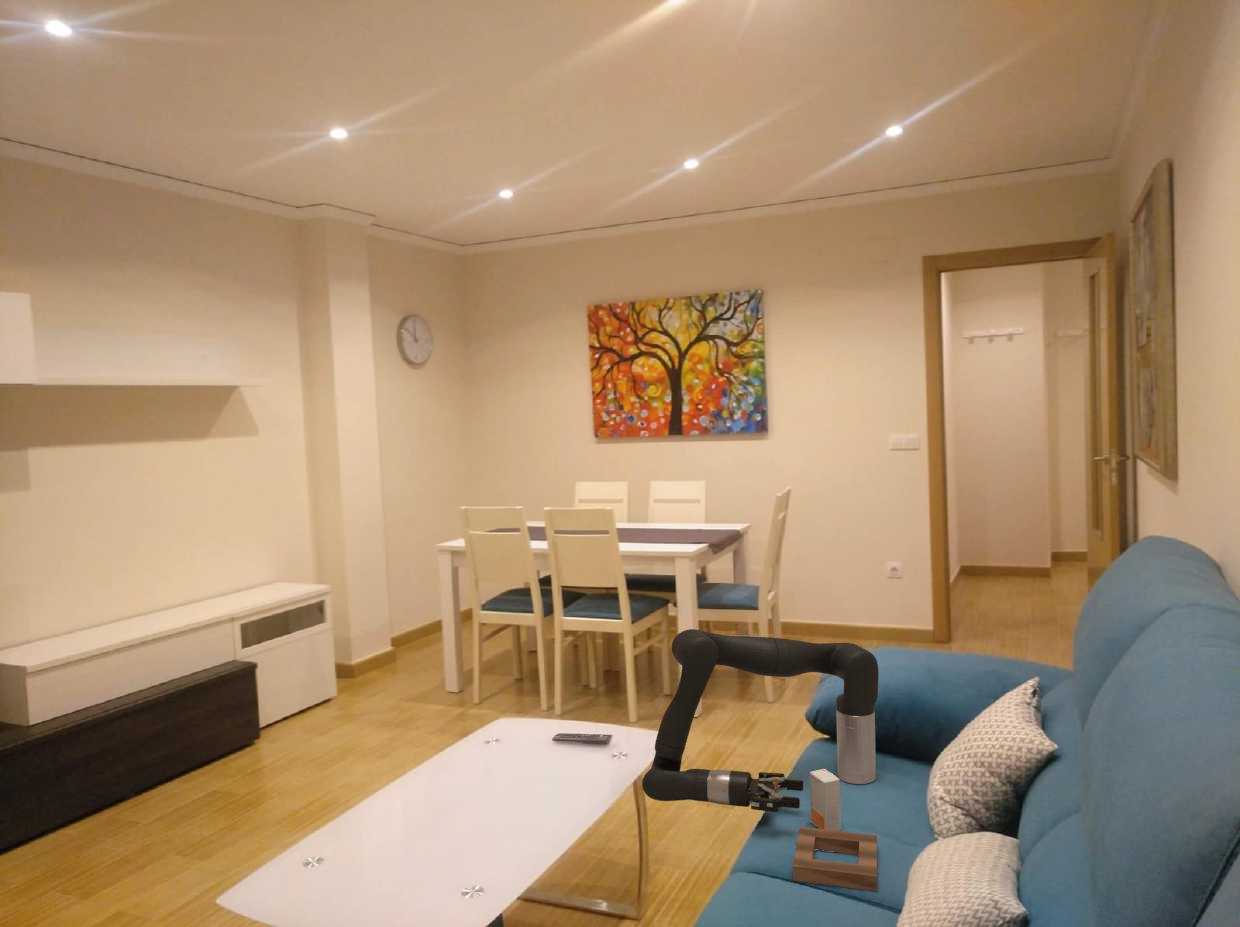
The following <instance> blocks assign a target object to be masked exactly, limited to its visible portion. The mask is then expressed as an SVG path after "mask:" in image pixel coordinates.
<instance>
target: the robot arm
mask: <svg viewBox="0 0 1240 927" xmlns="http://www.w3.org/2000/svg"><path fill="white" fill-rule="evenodd" d="M671 642H672V643H671V654H672V655H673V657H674V659H675V660H676V662H677V663H678V664H679V665H680V666H681V671H680V672H681V673H680V680H679V682H678V683H679V684H678V687H677V690H676V692H675V694H674V696H673V698H672V700H671V702H670V703H669V705H668V707H667V708H666V710H665V711H664V713H663V716H662V719H661V721H660V724H659V727H658V732H657V736H656V739H655V744H654V751H655V753H654V757H653V761H652V765H651V768H650V769H649V770H648V771H647V772H645V774H644V775H643V778H642V781H641V786H642V787H641V788H642V790H643V792H644V794H645V795H646V796H647V797H648V798H650V799H652V800H654V801H660V802H675V801H676V802H677V801H687V800H688V801H694V802H695V801H696V802H703V803H704V802H705V803H706V802H707V803H714V804H715V805H716V804H717V805H723V806H725V805H726V806H733V807H734V806H735V807H745V808H748V807H750V809H751V810H755V811H762V812H771V813H778V812H779V809H781V810H782V808H787V809H788V808H789V809H800V806H801V803H800V802H801V799H800V798H799V797H795V796H786V795H782V796H781V795H780V794H778V793H779V791H784V790H787V791H795V792H796V791H797V792H802V791H803V790H804V781H803V780H801V779H790V778H787V777H785V773H779V772H764V771H760V772H758V778H753V777H752V773H751V772H750V771H742V770H741V771H740V770H730V769H729V770H728V769H705V768H689V769H686V770H683V771H682V770H681V766H682V760H683V754H684V753H685V749H686V746H687V742H688V738H689V735H690V731H691V728H692V724H693V722H694V721H693V720H694V717H695V715H696V711H697V710H698V707H699V703H700V701H701V698H702V696H703V694H704V692H705V689H706V688H707V685H708V682H709V680H710V679H711V676H712V674H713V672H714V671H715V670H714V669H715V667H716V666H724V667H730V668H733V669H737V670H741V671H743V672H748V673H751V674H755V675H759V676H765V677H777V678H791V677H793V678H794V677H796V676H800V675H804V674H807V673H820V674H826V675H831V676H836V677H838V678H840V679H841V680H843V693H842V694H839V695H838V696H837V698H836V701H835V707H836V708H835V709H836V711H835V712H836V713H835V714H836V749H837V750H836V751H837V752H836V754H837V757H836V758H837V765H836V766H837V768H836V769H837V778H839V779H840V781H843V782H845V783H848V784H851V785H852V784H854V785H867V784H871V783H873V782H874V781H875V780H876V778H877V777H876V772H877V771H876V769H877V768H876V717H875V716H876V714H875V712H876V711H875V708H876V704H877V702H878V696H879V665H878V660H877V658H876V656H875V655H874V654H873V653H872V652H871V651H869V650H868V649H865V648H863V647H861V646H859V645H858V644H855V643H852V642H828V643H827V642H825V643H824V642H822V643H820V642H818V643H817V642H809V641H804V640H798V639H790V638H789V639H787V638H783V637H781V638H779V637H771V636H770V637H769V636H767V637H766V636H748V635H746V636H743V635H724V634H719V633H716V632H715V633H714V632H709V631H705V630H700V629H696V628H695V629H693V628H690V629H685V630H683V631H680V632H679V633H678V634H677V635H675V637H674V638H673V640H672V641H671Z"/></svg>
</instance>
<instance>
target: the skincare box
mask: <svg viewBox="0 0 1240 927" xmlns="http://www.w3.org/2000/svg"><path fill="white" fill-rule="evenodd" d="M809 803H810V805H809V806H810V808H809V810H810V817H809V818H810V823H811V824H812V825H813V826H815V827H816V828H817V827H818V828H817V829H824V830H834V831H842V827H841V824H842V823H841V821H842V820H841V779H840V778H839V777H838V776H836V775H834V773H832V772H830V771H829V770H827V769H826V768H821V769H817V770H813V771H809Z"/></svg>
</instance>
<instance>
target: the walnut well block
mask: <svg viewBox="0 0 1240 927" xmlns="http://www.w3.org/2000/svg"><path fill="white" fill-rule="evenodd" d="M815 849H818V850H824V851H823V852H825V851H834V852H839V853H838V854H843V853H845V855H852V854H853V855H854V856H858V863H850V862H849V863H848V862H839V861H831V860H824V859H823V860H822V859H815V857H816V850H815ZM834 852H833V853H834ZM814 856H815V857H814ZM792 881H793V882H800V883H809V884H817V885H826V886H831V887H841V888H848V889H856V890H865V891H873V892H878V835H877V834H872V833H861V832H851V831H842V830H841V831H834V830H824V829H819V828H813V827H806V826H805V827H804V826H799V828H798V835H797V840H796V847H795V852H794V858H793V864H792Z"/></svg>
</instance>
